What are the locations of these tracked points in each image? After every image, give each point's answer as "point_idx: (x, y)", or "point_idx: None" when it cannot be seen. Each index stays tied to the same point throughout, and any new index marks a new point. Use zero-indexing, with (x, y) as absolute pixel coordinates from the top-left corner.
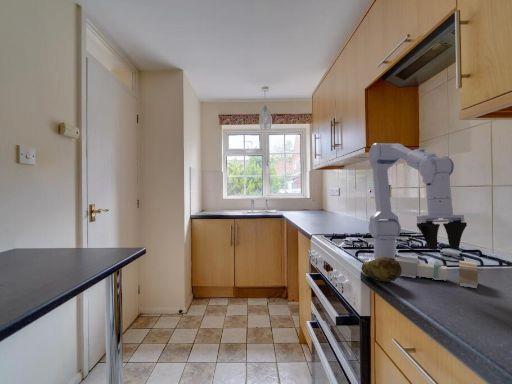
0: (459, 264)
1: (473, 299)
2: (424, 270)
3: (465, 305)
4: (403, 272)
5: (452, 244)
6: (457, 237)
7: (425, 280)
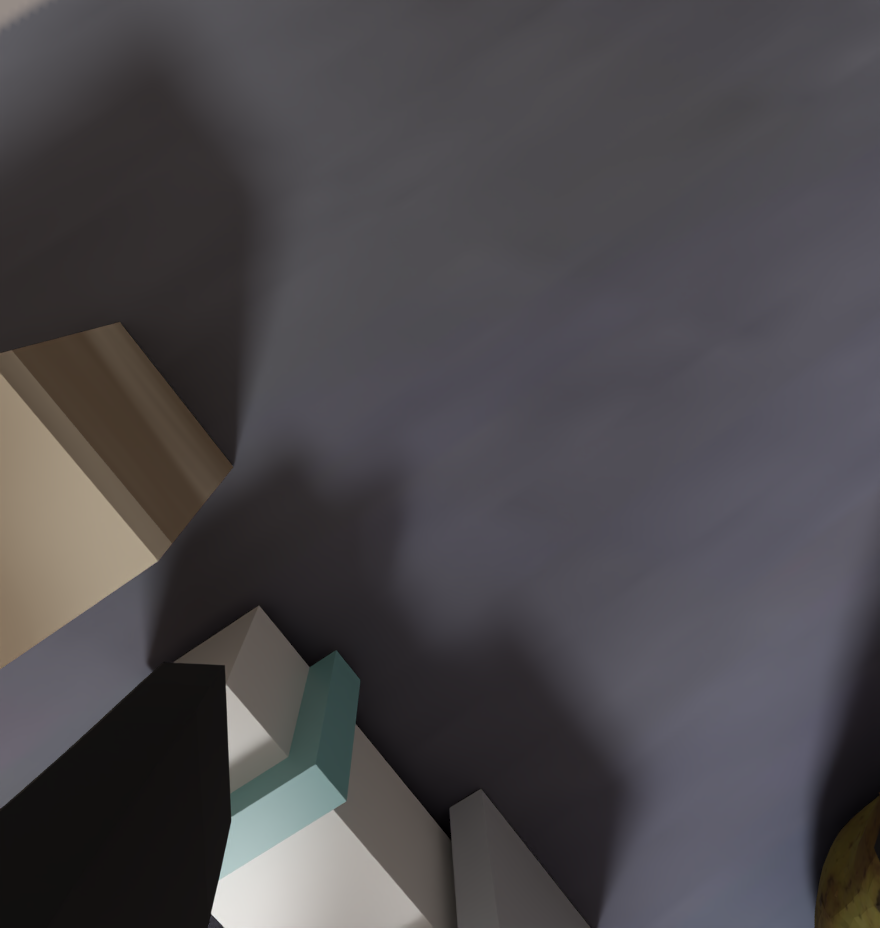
0: (80, 611)
1: (486, 122)
2: (388, 831)
3: (750, 33)
4: (561, 916)
5: (206, 840)
6: (73, 920)
7: (420, 725)
